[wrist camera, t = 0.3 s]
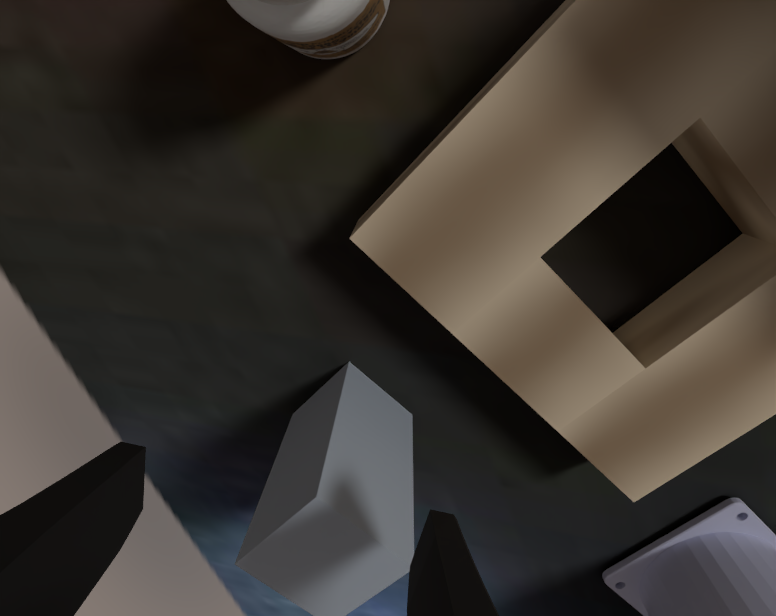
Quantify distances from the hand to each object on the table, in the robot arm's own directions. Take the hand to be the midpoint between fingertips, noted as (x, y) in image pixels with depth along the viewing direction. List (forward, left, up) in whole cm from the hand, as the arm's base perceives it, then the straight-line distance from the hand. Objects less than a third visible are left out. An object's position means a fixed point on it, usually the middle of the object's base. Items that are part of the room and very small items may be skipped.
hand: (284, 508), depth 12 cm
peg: (-3, +3, -10) cm, 10 cm away
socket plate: (-5, -11, -10) cm, 16 cm away
